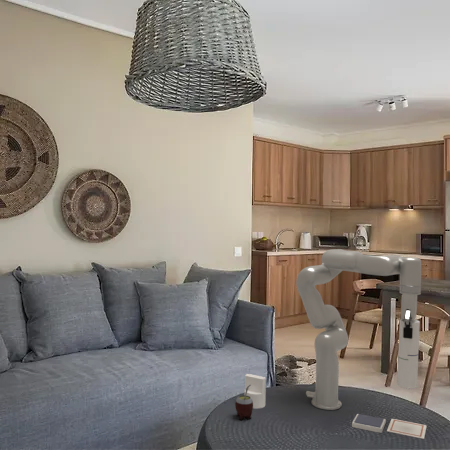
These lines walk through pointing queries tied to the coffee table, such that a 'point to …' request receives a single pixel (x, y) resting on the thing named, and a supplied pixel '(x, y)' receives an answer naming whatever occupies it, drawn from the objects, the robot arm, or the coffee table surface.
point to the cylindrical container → (408, 357)
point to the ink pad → (369, 423)
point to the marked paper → (407, 428)
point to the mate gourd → (244, 406)
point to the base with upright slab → (256, 389)
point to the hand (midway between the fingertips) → (408, 335)
